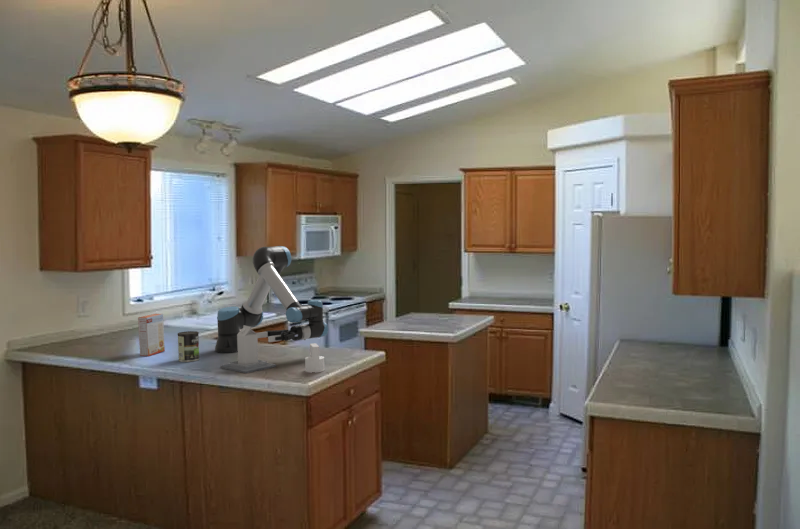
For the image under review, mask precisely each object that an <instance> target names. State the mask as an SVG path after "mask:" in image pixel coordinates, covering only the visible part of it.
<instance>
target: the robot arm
mask: <svg viewBox="0 0 800 529" xmlns="http://www.w3.org/2000/svg"><path fill="white" fill-rule="evenodd" d="M291 263H292V254H291V252H290V249H289V248H287V247H286V246H282V245H277V246H276V245H275V246H261V247H259V248H257V249H256V250H255V252H254V254H253V257H252V265H253V268H254V270H255V271H256V273H257V274H258V277H257V280H256V282H255V283H254V286H253V287H252V290H251V292H250V294H249V296H248V299H247V300H244V301H243V302H242V304H241V306H240V308H239V307H238V306H227V307H226V306H225V307H222V308H220V309H219V310H218V311H217V317H216V319H217V340H216V342H215V346H214V351H215V352H216V353H221V352H230V353H236V351H238V345H237V334H238V333H239V332H240V331H241V330H242V328H243V325H245V326H249V327H251V329H253V328H255V327H258V326H259V325H261V323H262V322H263V320H264V311H263V304H264V303H265V300H266V298H267V296H268V294H269V293H270V290H271V291H272V292H273V293H274V294H275V297H276V298H277V299H278V301H279V302H280V303H281V305H282V306H283V308H284V310H286V311H285V318H286V320H287V322H290V323H300V322H304V321H308V323H307V324H305V323H303V324H299V325H292V326H291V327H290V328H289V329H279V330H275V329H274V330H265V331H262V332H255V333H256V334H257V336H258V339H263V338H266V339H267V342H268V343H273V342H281V341H285V342H287V341H290V340H293V341H294V342H295V341H300V340H301V341H302V340H304V341H306V340H308V339H309V340H310V339H317V338H322V337H325V336H327V335H328V333H329V326H328V324H327V322H325V321H324V313H323V312H324V307H323V301H322V300H320V299H312V300H311V299H310V300H308V301H307V304H306V305H302V304H301V303H300V302H299V300H298V299H297V298H296V296H295V295H294V294H293V292H292V291H291V289H290V288H289V286H288V285H287V284H286V282H285V281H284V279H283V277H282V276H281V274H282V272H283V270H284V268H287V267H289V266H290V265H291Z"/></svg>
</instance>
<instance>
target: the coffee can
mask: <svg viewBox="0 0 800 529" xmlns="http://www.w3.org/2000/svg"><path fill="white" fill-rule="evenodd" d="M199 336H200V335H199V331H195V330H193V331H192V330H190V331H189V330H187V331H181V332H177V344H178V345H177V349H178V361H179V362H180V363H181V362H182V363H187V362H188V363H189V362H196V361H199V360H200V338H199Z"/></svg>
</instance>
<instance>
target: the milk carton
mask: <svg viewBox="0 0 800 529" xmlns="http://www.w3.org/2000/svg"><path fill="white" fill-rule="evenodd" d="M256 333H257V332H255V331H254V330H253V329H252V328H251V327H249V326H245V325H243V328H242V329H240V332H239V333H238V334H237V345H238V352H237V361H238V364H243V365H249V364H254V363H258V360H259V346H258V345H259V344H258V339H259V338H258V336H257V334H256Z"/></svg>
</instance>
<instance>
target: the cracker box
mask: <svg viewBox="0 0 800 529" xmlns="http://www.w3.org/2000/svg"><path fill="white" fill-rule="evenodd" d="M137 322H138V342H139V343H138V344H139V357H150V356H153V355H157V354H159V353H162V352H163V351H164V352H165V347H166V346H165V329H164V328H165V327H164V314H163V313H153V314H147V315H142V316H139V317H137Z"/></svg>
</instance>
